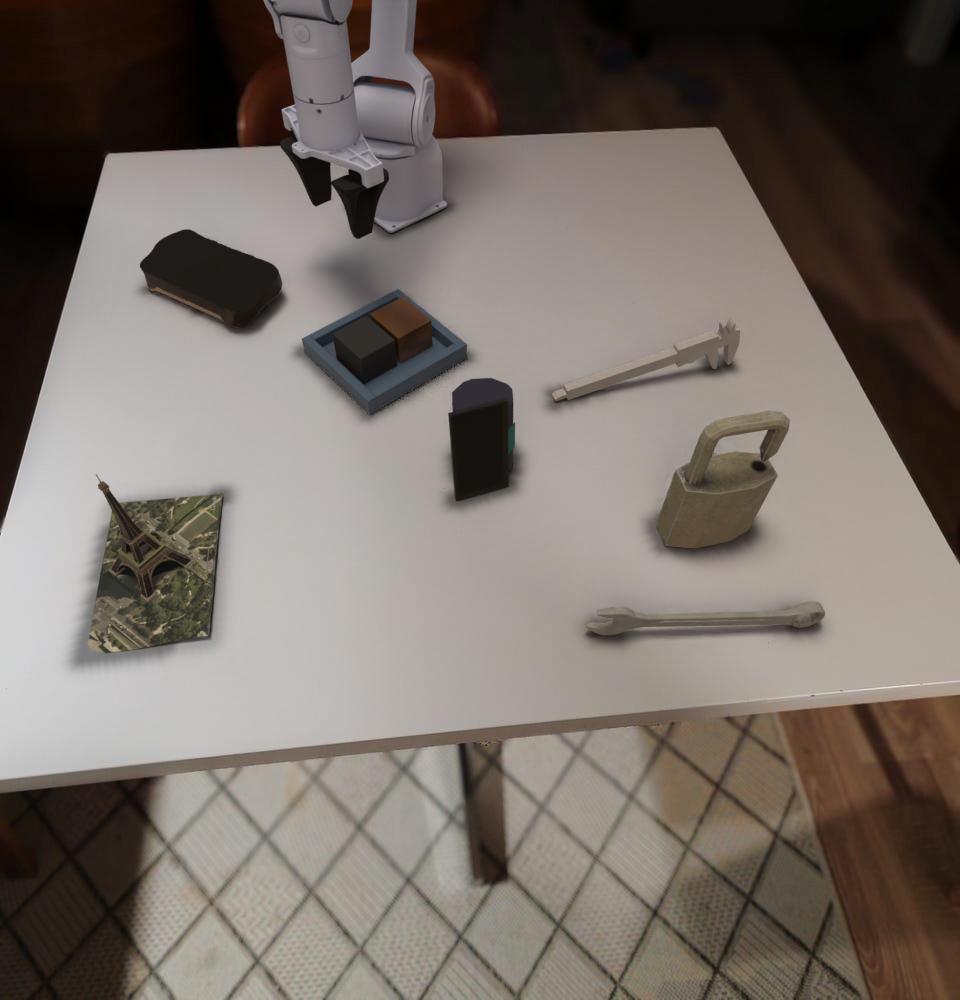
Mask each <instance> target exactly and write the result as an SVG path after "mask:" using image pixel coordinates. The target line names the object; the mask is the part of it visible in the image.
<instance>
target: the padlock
mask: <svg viewBox="0 0 960 1000" xmlns="http://www.w3.org/2000/svg"><path fill="white" fill-rule="evenodd" d="M790 421H791V420H790V418H789V417H788V416H787V415H786V414H784V413H783V412H781V411H778V410H767V411H762V412H754V413H748V414H743V415H742V414H741V415H735V416H730V417H724V418H721V419H717V420H715V421H713V422H712V423H710V424H708V425H706V426H705V427H704V428H703V430H702V432H701V433H700V435H699V437H698V439H697V442H696V445H695V448H694V450H693V453H692V455H691V458H690V460H689V462H687V463H686V464H683V465H682V466H680V467H677V468H676V469H675V471H674V472H673V476H672V479H671V482H670V484H669V487H668V490H667V493H666V495H665V499H664V501H663V504H662V507H661V509H660V513H659V515H658V518H657V520H656V523H655V526H656V529H657V531H658V533H659V535H660V537H661V540H662V542H663V544H664V546H665V547H676V548H683V549H684V548H685V549H698V548H704V547H708V546H713V545H714V546H715V545H720V544H725V543H730V542H731V541H732V540H734V539H736V538H738V537H739V536H741V535H743V534H745V533H746V532H748V531H749V530H750V529H751V527H752V525H753V524H754V521H755V519H756V518H757V516H758V513H759V512H760V510H761V508H762V506H763V504H764V502H765V501H766V499H767V497H768V495H769V493H770V491H771V489H772V487H773V486H774V483H775V482H776V480H777V478H778V476H779V473H778V472H777V471H776V469H775V467H774V466H773V464H772V462H771V460H770V459H772V457H774V456H775V455H777V453H778V452H779V450H780V448H781V446H782V444H783V442H784V440H785V438H786V436H787V434H788V432H789V430H790V424H791V422H790ZM763 431H766V433H765V435H764V437H763V439H762V441H761V444H760V446H759V452H749V451H737V450H735V451H729V452H723V453H718V454H714V452H715V449H716V447H717V444H718V442H719V441H721V440H722V439H723V438H726V437H732V436H739V435H744V434H750V433H759V432H763Z"/></svg>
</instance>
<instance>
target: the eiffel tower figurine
mask: <svg viewBox="0 0 960 1000" xmlns="http://www.w3.org/2000/svg"><path fill="white" fill-rule="evenodd" d="M95 476H96V478H97V480H98V481H99V483H98V484H97V489H98V490H99V491H101V493H102V494H103V495H104V498H105V499H106V502H107V504H108V506H109V508H110V510H111V514H110V519H109V525H108V530H107V537H106V542H105V547H104V551H103V557H102V562H101V569H100V573H99V574H100V575H99V579H98V585H97V591H96V597H95V600H94V601H95V602H94V607H93V611H92V617H91V624H90V628H89V635H88V641H87V646H88V648H89V649H90V650H93V651H95V652H98V653H100V654H111V653H117V652H118V653H119V652H124V651H132V650H137V649H143V648H149V647H153V646H157V645H163V644H166V643H171V642H176V641H177V642H178V641H184V640H190V639H195V638H202V637H203V638H204V637H208V636H210V631H211V620H212V609H213V600H214V599H213V598H214V591H215V590H214V589H215V577H216V576H215V575H216V561H217V551H218V540H219V530H220V520H221V514H222V507H223V506H222V505H223V496H224V493H217V494H206V495H194V496H192V495H191V496H182V497H181V496H180V497H170V498H158V499H147V500H135V501H124V502H123V501H122V502H119V501H118V500H117V498H116V497H115V495H114V494H113V492H112V491H111V490H110V485H109V484H108V483H106V482H105V481H104V480H102V481H101V479H100V477H99V476H98V474H97V473H95Z"/></svg>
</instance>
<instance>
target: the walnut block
mask: <svg viewBox="0 0 960 1000" xmlns="http://www.w3.org/2000/svg"><path fill="white" fill-rule="evenodd" d="M370 318H371V320H372V321H373V322H374V323H376V324H377V325H378V326H379V327H380V328H381V329H383V330H384V331H385V332H386V333H387V334H388V335H389V336H391V337H392V338H393V339H394V340H395V346H396V357H397V361H398V362H399V363H400V364H401V363H403V362H405V361H406V360H408V359H410V358H412V357H414V356H415V355H417V354H419V353H421V352H422V351H424V350H426V349H428V348H430V347H431V346H433V344H432V320H431V319H429V318H428V317H427V316H426V315H425V314H423V313H422V312H421V311H420V310H418V309H417V308H416V307H415V306H413V305H412V304H411V303H410V302H409V301H407V300H406V299H405V298H404V297H401V298H399V299H397V300H395V301H394V302H392V303H390V304H388V305H386V306H384V307H382V308H380V309H378V310H376V311H374V312H372V313H370Z"/></svg>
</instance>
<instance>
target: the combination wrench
mask: <svg viewBox="0 0 960 1000" xmlns="http://www.w3.org/2000/svg"><path fill="white" fill-rule="evenodd" d="M595 613H596V616H598V617H601V618H606V619H611V620H609V621H607V622H600V621H599V622H597V621H596V622H595V621H593V622H590V621H589V622H585V628H586V629H588V630H589V631H592V632H593V633H596V634H599V635H601V636H614V635H618V634H622V633H624V632H627V631H629V630H634V629H640V628H662V627H663V628H665V627H666V628H667V627H669V628H671V627H722V626H723V627H724V626H725V627H727V626H729V627H730V626H774V625H775V626H776V625H777V626H780V625H782V626H792V627H795V628H806V627H810V626H813V625H815V624H817V623H819V622H821V621H822V620H823V619H824V618H825V616H826V610H825V609H824V607H823V605H822V603H820V602H818V601H808V602H807V601H806V602H803V603H800V604H798V605H796V606H794V607H792V608H787V609H784V610H762V611H761V610H760V611H758V610H757V611H724V612H723V611H722V612H721V611H720V612H687V613H686V612H683V613H681V612H680V613H640V612H636V611H634V610H633V609H631V608H629V607H626V606H610V607H604V608H600V609H596V612H595Z"/></svg>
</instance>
